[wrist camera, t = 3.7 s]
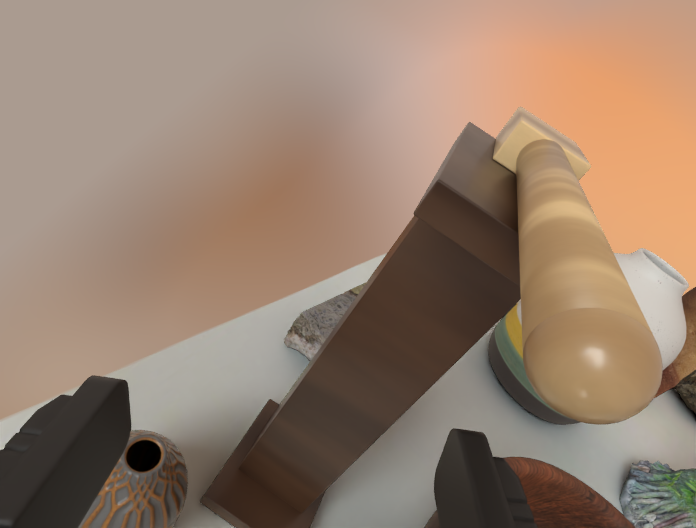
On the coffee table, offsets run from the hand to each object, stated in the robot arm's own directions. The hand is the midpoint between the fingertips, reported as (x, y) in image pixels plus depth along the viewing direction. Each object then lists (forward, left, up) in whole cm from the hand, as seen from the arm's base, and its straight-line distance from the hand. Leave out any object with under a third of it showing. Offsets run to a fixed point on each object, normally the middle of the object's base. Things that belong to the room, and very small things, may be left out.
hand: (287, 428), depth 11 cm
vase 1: (-6, +3, -25) cm, 26 cm away
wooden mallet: (0, +10, +5) cm, 12 cm away
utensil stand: (-1, +13, -25) cm, 28 cm away
